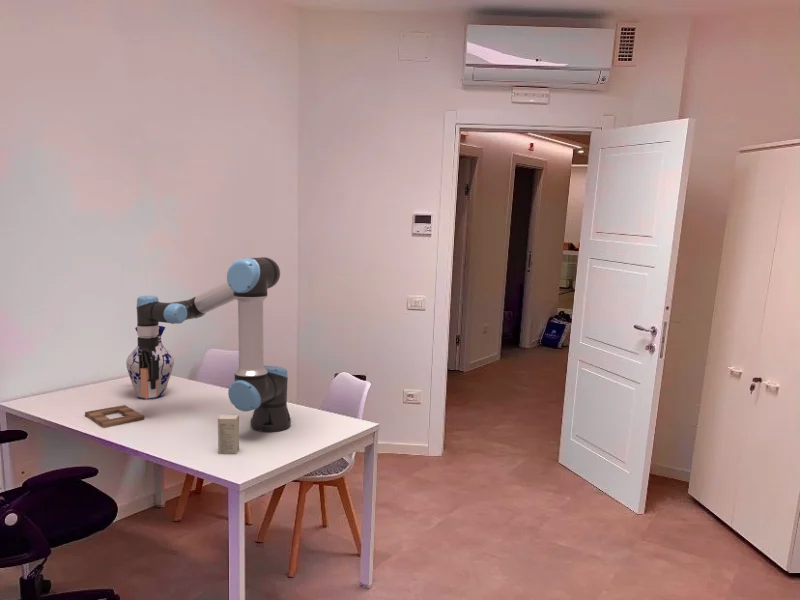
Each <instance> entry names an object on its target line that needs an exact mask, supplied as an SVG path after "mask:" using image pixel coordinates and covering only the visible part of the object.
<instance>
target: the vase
mask: <svg viewBox="0 0 800 600" xmlns="http://www.w3.org/2000/svg"><path fill="white" fill-rule="evenodd" d="M158 327H159V334H158V335H157V336H158V337H159V345H158V346H157V347H155V351H156V355H159V380H157V385H158V397H153V398H148V399H146V398H143V397H141V375H139V355H138V350H141V349H142V348H141V347H138V345H137V346H136V347H135V348H134V349H133V350H132V351H131V353H130V354H129V355H128V356H127V358H126V368H127V374H128V376H129V379H130V381H131V384H132V387H133V390H134V393H135V395H136V398H138V399H140V400H155V399H160V398H162V397H164V396H165V393H166V390H167V387H168V383H169V380H170V378H171V375H172V372H173V368H174V365H175V359H174V356H173V354H172V353H171V352H170V351H169V350H168V349H167V348H166V347H165V346H164V344H163V342H162V335H163V333H164V331H165V330H166V326H163V325H158ZM134 330H135V331H136V332H137V326H136V327H135V328H134Z"/></svg>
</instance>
